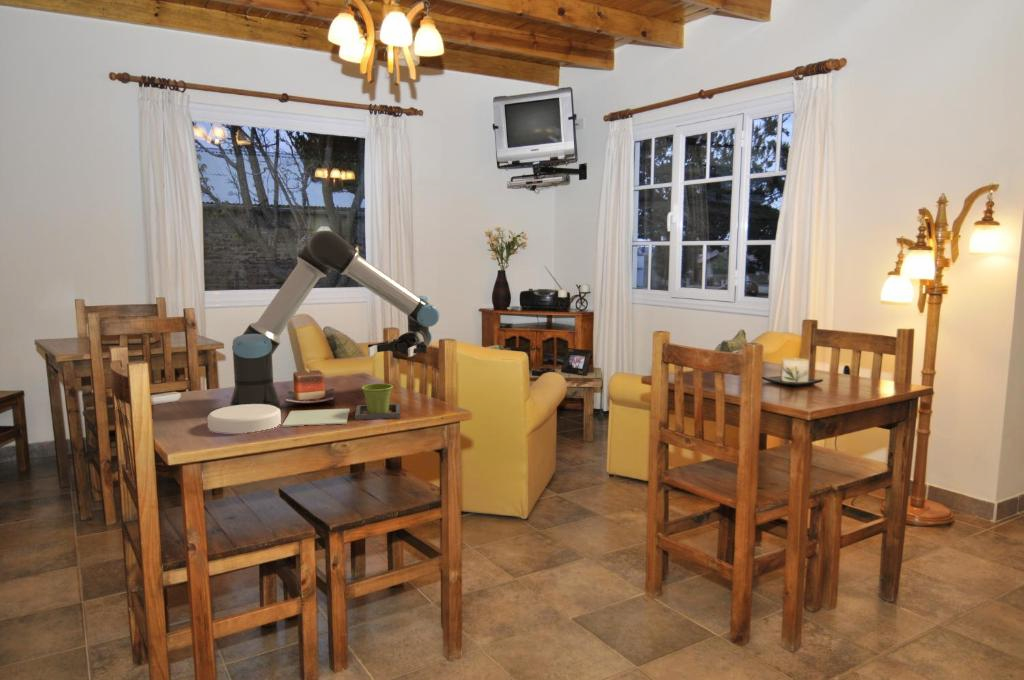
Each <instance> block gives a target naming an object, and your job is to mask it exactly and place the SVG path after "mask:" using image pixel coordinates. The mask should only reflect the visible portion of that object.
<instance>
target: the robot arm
mask: <svg viewBox="0 0 1024 680" xmlns="http://www.w3.org/2000/svg"><path fill="white" fill-rule="evenodd" d="M296 260H297V264H296V266H295V267H294V269H293V270H292V271H291V272H290V274H289V275H288V277H287V279H286V280H285V282H284V283H283V284H282V285H281V287H280V289H279V290H278V291H277V293H276V294H275V296H274V297H273V299H272V300H271V302H270V303H269V304H268V305H267V307H266V309H265V310H264V311H263V313H262V315H261V316H260V317H259V318H258V320H257V321H256V322H253V323H250V324H249V325H248V326H247V328H246V329H245V330H244V332H243V333H242V334H241V335H239V336H235V338H233V340H232V345H231V349H232V355H233V356H232V359H233V374H234V375H233V376H234V377H233V379H234V388H233V392H232V396H231V399H230V402H229V406H235V405H245V404H266V405H272V406H275V407H277V408H279V409H280V408H281V400H280V397H279V394H278V392H277V389H276V387H275V384H274V370H273V369H274V367H273V354H274V353H275V351H276V350H277V349H278V347H279V345H280V344H281V338H280V336H281V335H282V333H283V332H284V330H285V329H286V327H287V326H288V325H289V323H290V322H291V321H292V319H293V318H294V316H295V314H296V313H297V311H298V310H299V309H300V307H301V306H302V304H304V301H305V300H306V298H307V297H308V296H309V294H310V292H311V291H312V290H313V288H314V286H316V284H317V282H318V281H319V280H320V279H321V278H325V277H327V276H328V275H329V273H330V272H331V270H332V271H335V272H336V273H338V274H339V275H341V276H342V275H346V276H348V277H350V278H351V279H352V280H353V281H355V282H357V283H358V284H359V285H361V286H363V287H364V288H366V289H368V291H370V292H371V293H372V294H375V295H376V296H378V297H379V298H380V299H382V300H383V301H386V302H387V303H388V304H390V305H391V306H393V307H394V308H396V309H397V310H399V311H400V312H402V313H403V314H405V315H406V317H407V332H405V333H403V334H401V335H400V336H399V337H397V340H392V341H389V340H386V341H383V342H378V343H377V342H376V343H371V344H367V356H368V357H372V356H376V355H377V354H378V353H383V352H392V353H394V352H400V353H401V354H402V355H405V356H407V357H408V358H411V357H413V356H415V355H416V354H421V353H423V354H427V353H428V352H427V351H428V350H427V349H428V348H427V347H428V346H429V345H430V344H431V343H432V341H433V334H432V332H431V330H430V329H429V328H430V327H431V328H432V327H433V326H436V324H437V323H438V322H439V319H440V312H439V310H438V308H436V306H435V305H433V304H430V303H429V299H428V296H427V295H426V296H425V295H417V294H415V293H414V292H413V291H411V290H410V289H408V288H407V287H406V286H405V285H402V284H401V283H400V282H398V280H395V279H394V278H392V277H391V276H389V275H388V274H387V273H385V272H384V271H383V270H381V269H379V268H378V267H377V266H375V265H373V264H372V263H370V262H369V261H368V260H366V259H365V258H363V256H361V255H360V254H359V251H358V250H357V249H356V248H355V247H353V246H352V245H351V244H349V243H348V242H347V241H346V240H344V239H343V238H342V237H341V236H340V235H339V234H337V233H336V232H334V231H331V230H320V231H316V232H314V233H312V234H311V235H309V237H308V238H307V239H306V242H305V244H304V246H303V247H302V249H301V251H300V252H299V253H298V255H297V256H296ZM427 345H428V346H427Z"/></svg>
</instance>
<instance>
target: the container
mask: <svg viewBox="0 0 1024 680" xmlns="http://www.w3.org/2000/svg"><path fill="white" fill-rule="evenodd" d="M281 412H282V411H281V409H280V408H277V407H275V406H272V405H266V404H245V405H235V406H230V405H229V406H224V407H220V408H218V409H215V410H212V411H211V412H209V414H208V415H207V417H206V418H207V429H208V428H209V429H211V430H214V431H219V432H229V433H243V432H244V433H247V432H255V431H261V430H266V429H271V428H273V429H275V428H274V427H276V428H278V427H279V426H280V425H279V424H282V419H281V418H282V416H281V415H282V414H281ZM278 425H279V426H278ZM277 426H278V427H277ZM271 430H272V429H271Z"/></svg>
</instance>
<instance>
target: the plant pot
mask: <svg viewBox="0 0 1024 680" xmlns="http://www.w3.org/2000/svg"><path fill="white" fill-rule="evenodd" d="M393 388H394V387H393V385H392V384H389V383H371V384H366V385H363V386H362V387H361V390H362V391H363V394H364V397H365V403H366V404H365V405H367V409H368V410H367V414H372V413H389V410H390V409H389V404H390V399H391V393H392V389H393Z"/></svg>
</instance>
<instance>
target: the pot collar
mask: <svg viewBox="0 0 1024 680" xmlns="http://www.w3.org/2000/svg"><path fill="white" fill-rule="evenodd" d="M361 410H363V411H368V409H367V404H357V405H356V408H355V414H354V420H355V421H359V420H358V419H367V420H379V419H378V418H390V419H401V405H400V403H389V410H395V412H388V413H372V414H368V413H361V412H362V411H361Z"/></svg>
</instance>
